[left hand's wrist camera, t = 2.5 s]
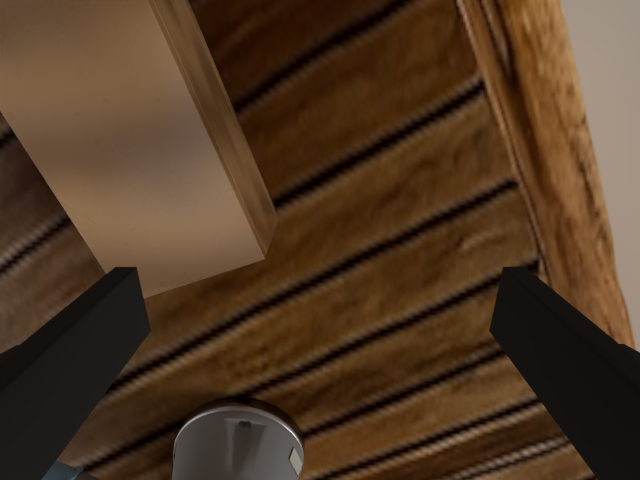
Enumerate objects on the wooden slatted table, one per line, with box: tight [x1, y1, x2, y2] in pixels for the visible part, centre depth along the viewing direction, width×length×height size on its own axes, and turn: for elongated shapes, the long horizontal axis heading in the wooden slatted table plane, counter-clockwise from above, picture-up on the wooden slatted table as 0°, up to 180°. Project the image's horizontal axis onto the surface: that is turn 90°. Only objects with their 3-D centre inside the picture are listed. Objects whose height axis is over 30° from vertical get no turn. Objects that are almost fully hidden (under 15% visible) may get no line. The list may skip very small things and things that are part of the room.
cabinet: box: [0, 0, 279, 298], centre depth 25 cm, size 20×11×9 cm, turn 19°
